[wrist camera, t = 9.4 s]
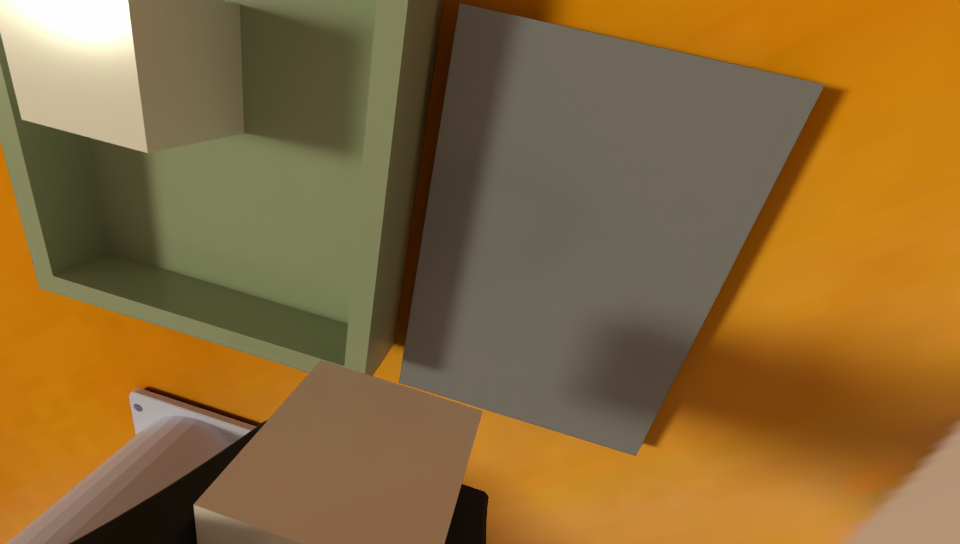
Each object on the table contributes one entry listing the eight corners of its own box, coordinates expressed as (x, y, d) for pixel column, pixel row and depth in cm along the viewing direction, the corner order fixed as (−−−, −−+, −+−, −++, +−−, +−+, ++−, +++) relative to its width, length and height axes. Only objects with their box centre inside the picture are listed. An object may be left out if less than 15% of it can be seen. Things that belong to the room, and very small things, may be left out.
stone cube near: (450, 521, 12) (396, 708, 9) (312, 474, 13) (206, 635, 9) (482, 411, 10) (431, 589, 7) (321, 359, 11) (193, 505, 7)
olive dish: (393, 344, 19) (362, 389, 17) (110, 259, 21) (39, 288, 18) (448, -31, 13) (414, -54, 11) (42, -119, 15) (-80, -160, 12)
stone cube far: (244, 133, 16) (147, 153, 13) (143, 107, 16) (21, 119, 13) (239, 4, 14) (126, -16, 11) (126, -22, 15) (-20, -49, 11)
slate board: (633, 441, 19) (635, 456, 18) (405, 371, 20) (398, 382, 19) (811, 83, 13) (824, 84, 12) (466, 6, 14) (459, 2, 13)
